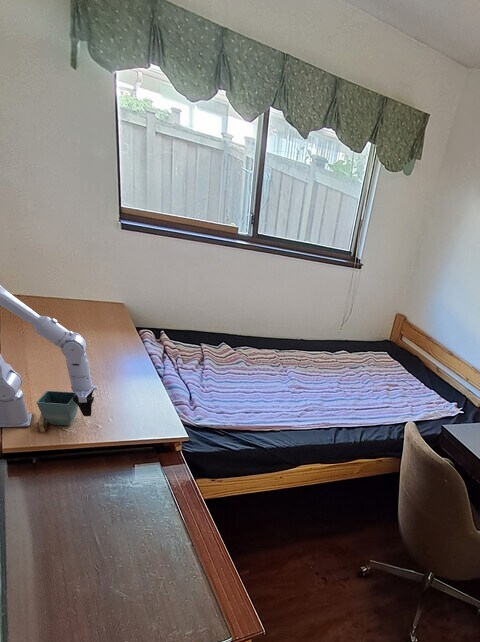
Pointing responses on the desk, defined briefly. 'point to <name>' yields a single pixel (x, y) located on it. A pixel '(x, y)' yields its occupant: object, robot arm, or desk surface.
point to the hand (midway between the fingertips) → (87, 411)
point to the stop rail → (42, 423)
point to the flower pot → (58, 407)
